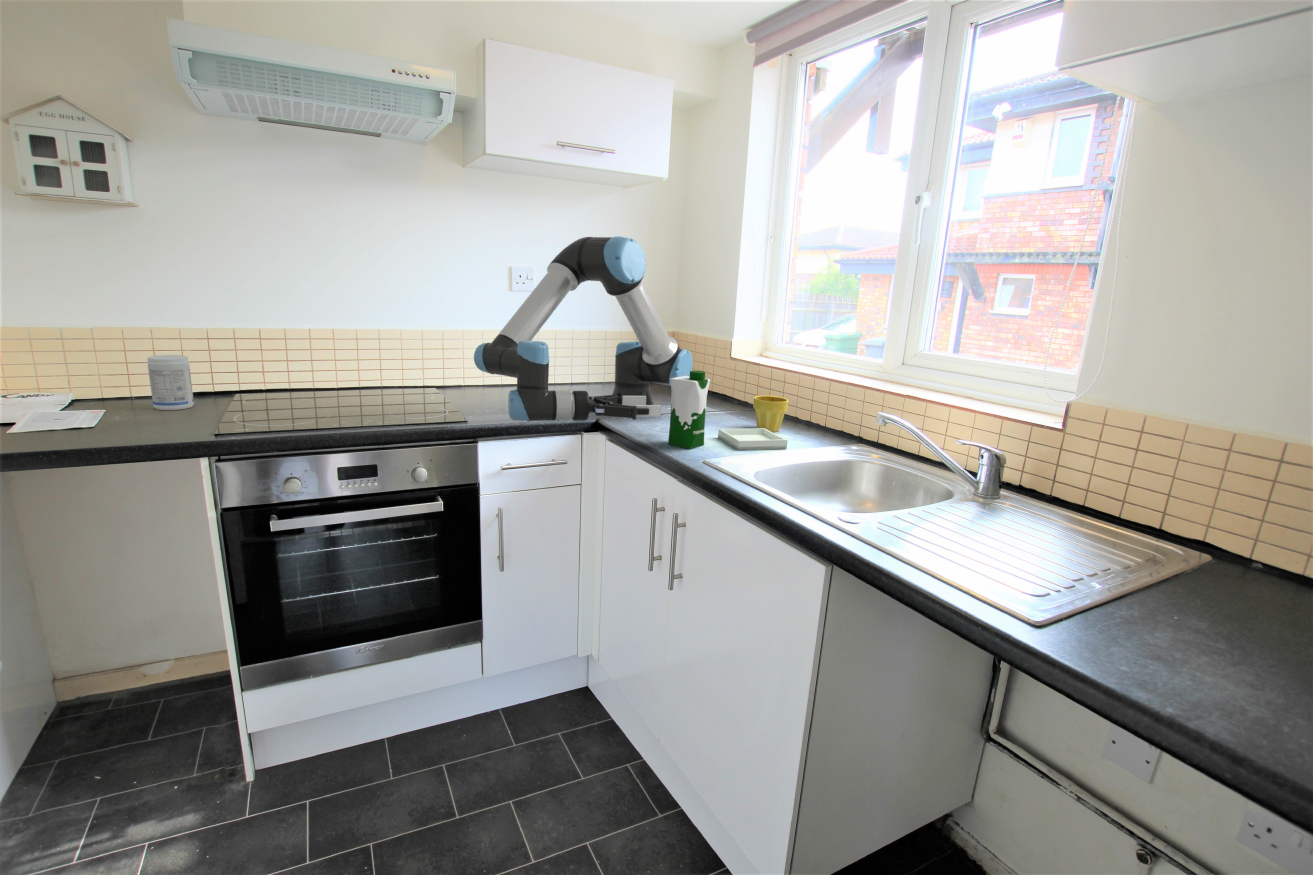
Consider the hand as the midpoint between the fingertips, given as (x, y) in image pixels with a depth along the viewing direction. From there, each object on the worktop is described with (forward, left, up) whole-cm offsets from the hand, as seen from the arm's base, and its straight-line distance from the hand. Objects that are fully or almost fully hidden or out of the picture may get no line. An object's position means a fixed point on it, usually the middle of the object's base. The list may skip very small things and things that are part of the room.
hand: (653, 405), depth 170 cm
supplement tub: (-34, -134, -11) cm, 139 cm away
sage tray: (-5, +29, -11) cm, 31 cm away
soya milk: (-2, +10, -11) cm, 15 cm away
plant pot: (-23, +39, -11) cm, 46 cm away
